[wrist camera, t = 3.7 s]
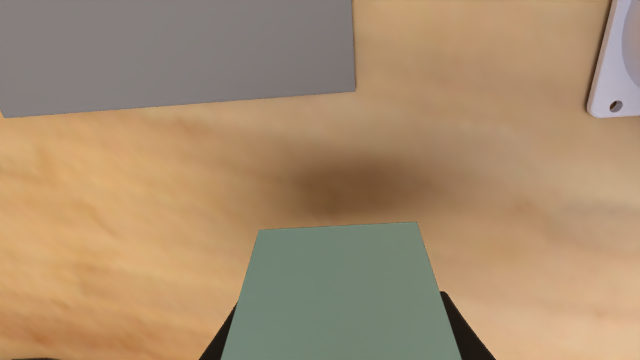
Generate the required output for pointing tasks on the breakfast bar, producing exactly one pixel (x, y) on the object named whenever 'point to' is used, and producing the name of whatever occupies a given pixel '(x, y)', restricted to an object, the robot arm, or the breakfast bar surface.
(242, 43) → the mat
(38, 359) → the round wood slice
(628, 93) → the robot arm
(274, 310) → the block
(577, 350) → the breakfast bar surface
